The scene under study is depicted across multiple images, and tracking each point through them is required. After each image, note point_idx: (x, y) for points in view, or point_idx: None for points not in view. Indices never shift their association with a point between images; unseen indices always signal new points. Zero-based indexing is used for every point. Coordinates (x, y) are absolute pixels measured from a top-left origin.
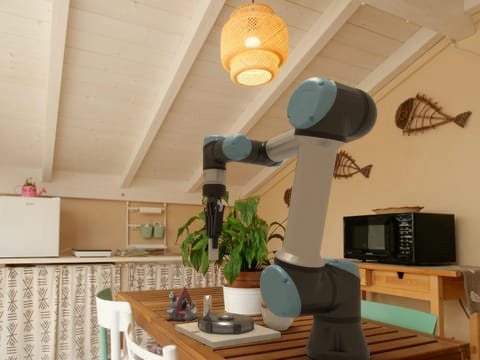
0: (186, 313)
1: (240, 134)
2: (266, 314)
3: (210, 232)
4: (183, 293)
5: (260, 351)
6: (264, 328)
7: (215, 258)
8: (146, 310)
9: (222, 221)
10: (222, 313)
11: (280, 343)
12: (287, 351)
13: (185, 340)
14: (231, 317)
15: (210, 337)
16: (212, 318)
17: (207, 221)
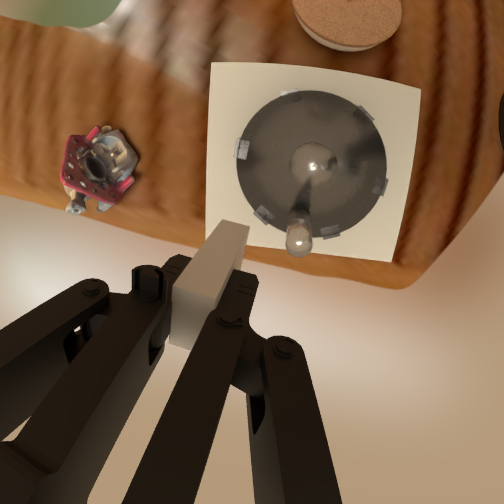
0: (125, 169)
1: None
2: (350, 50)
3: (148, 368)
4: (79, 181)
5: (456, 203)
6: (369, 85)
7: (244, 245)
8: (25, 196)
9: (334, 483)
10: (291, 164)
11: (446, 129)
12: (483, 167)
13: (306, 265)
14: (337, 167)
15: (360, 245)
16: (285, 193)
17: (24, 411)
